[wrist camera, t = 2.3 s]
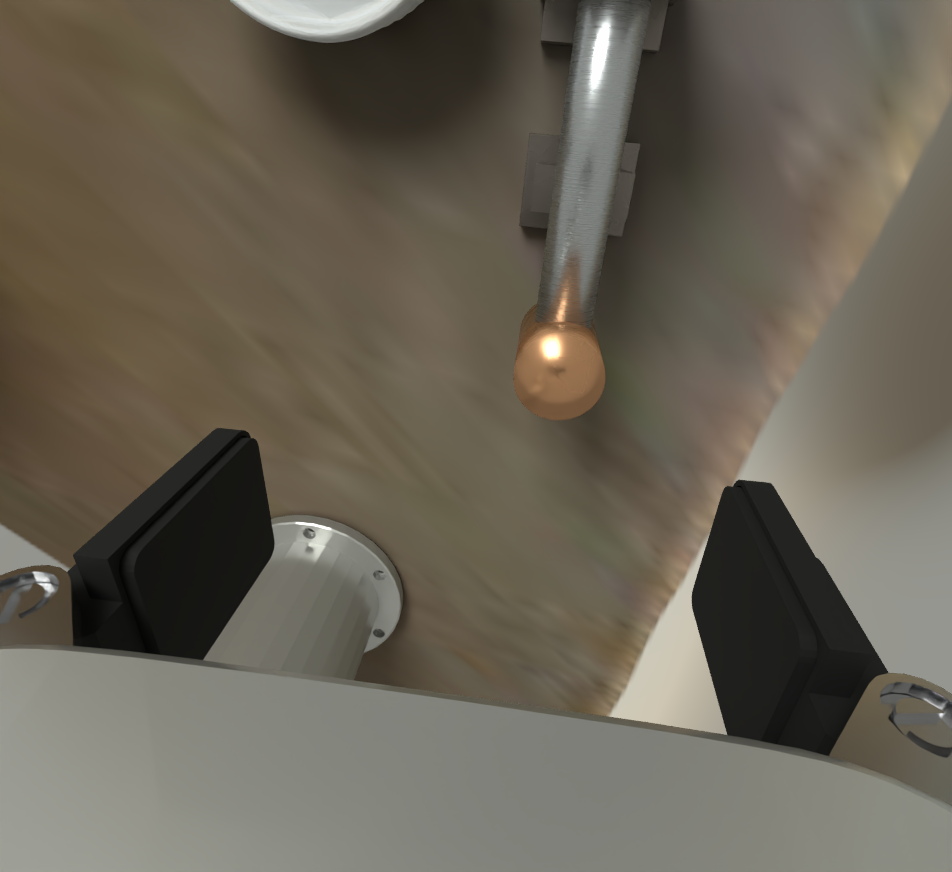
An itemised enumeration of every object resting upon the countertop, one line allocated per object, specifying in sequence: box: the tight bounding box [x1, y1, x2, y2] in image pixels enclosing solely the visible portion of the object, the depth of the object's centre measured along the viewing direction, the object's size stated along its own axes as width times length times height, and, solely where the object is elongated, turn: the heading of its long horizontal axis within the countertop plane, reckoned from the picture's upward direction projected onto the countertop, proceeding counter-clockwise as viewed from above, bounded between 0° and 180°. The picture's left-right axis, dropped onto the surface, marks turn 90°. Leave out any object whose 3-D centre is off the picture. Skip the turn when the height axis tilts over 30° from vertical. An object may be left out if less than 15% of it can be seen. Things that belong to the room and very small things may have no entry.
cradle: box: [519, 133, 640, 237], centre depth 25 cm, size 4×5×5 cm
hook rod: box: [513, 0, 652, 420], centre depth 21 cm, size 20×4×6 cm, turn 175°
